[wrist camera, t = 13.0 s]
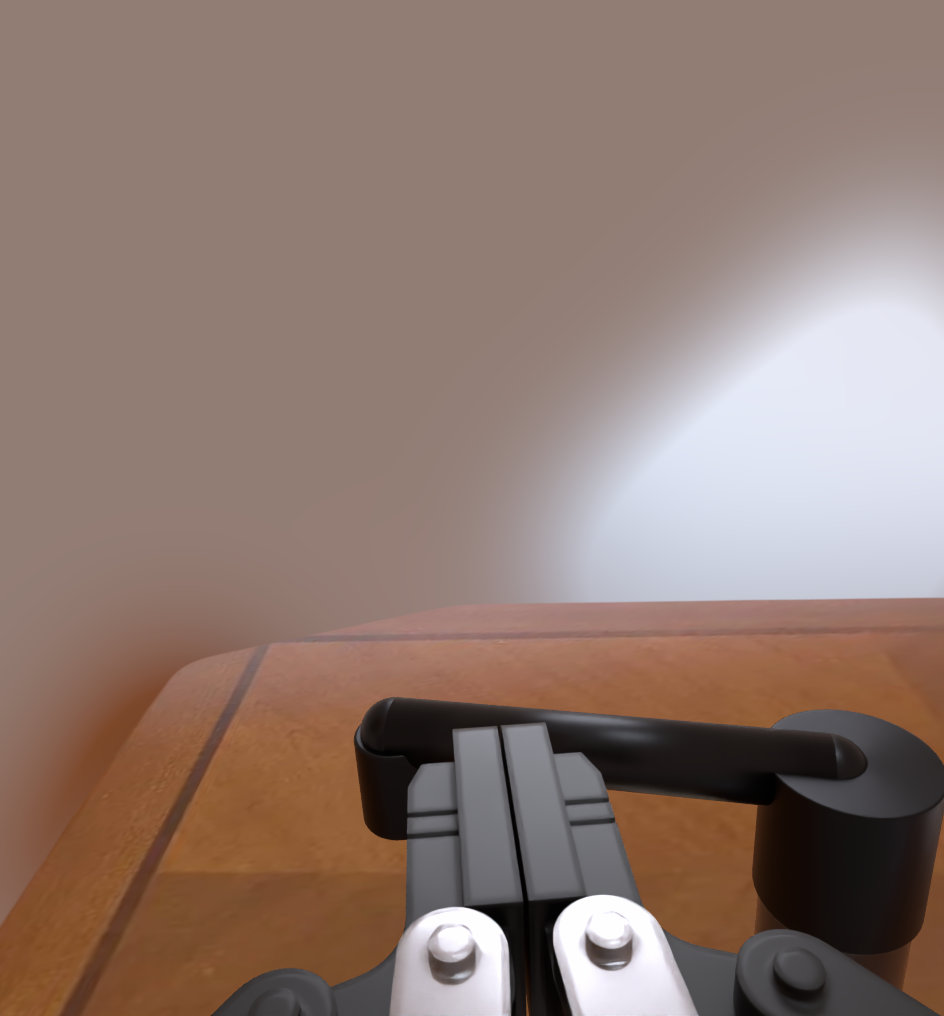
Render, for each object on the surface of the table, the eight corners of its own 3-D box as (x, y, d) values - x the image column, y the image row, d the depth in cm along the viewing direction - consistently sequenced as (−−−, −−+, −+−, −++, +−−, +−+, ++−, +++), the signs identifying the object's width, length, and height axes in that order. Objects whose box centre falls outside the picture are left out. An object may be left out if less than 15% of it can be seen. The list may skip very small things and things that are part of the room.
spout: (902, 840, 25) (925, 700, 23) (944, 968, 21) (976, 811, 19) (390, 785, 29) (376, 660, 27) (344, 885, 25) (323, 746, 23)
